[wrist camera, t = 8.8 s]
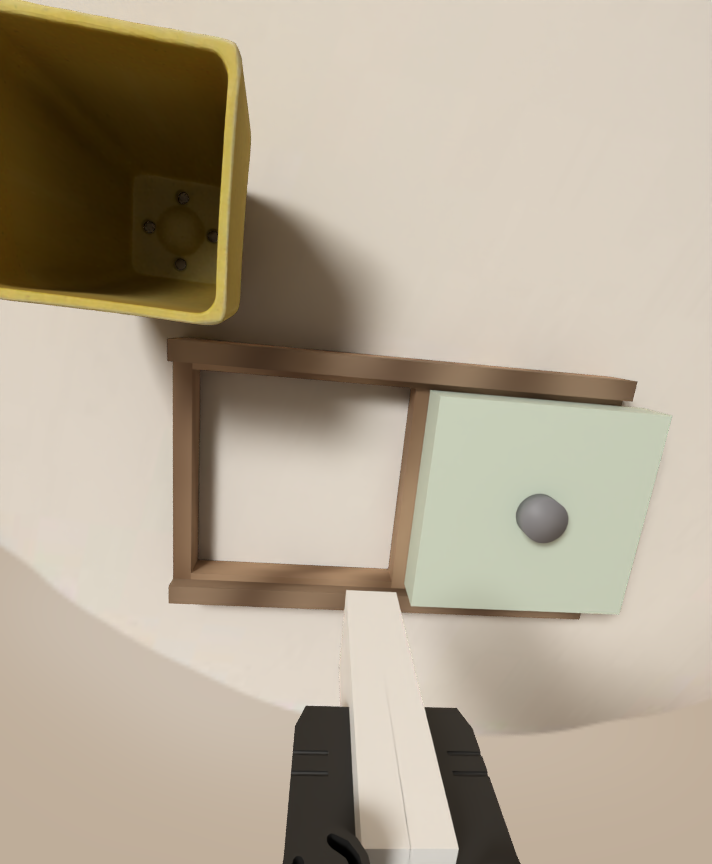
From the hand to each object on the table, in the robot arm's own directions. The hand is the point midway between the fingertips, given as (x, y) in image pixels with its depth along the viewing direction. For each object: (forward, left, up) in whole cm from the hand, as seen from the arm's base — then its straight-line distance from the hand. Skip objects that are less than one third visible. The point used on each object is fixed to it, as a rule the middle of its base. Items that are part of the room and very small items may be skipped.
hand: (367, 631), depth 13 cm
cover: (-10, 0, -12) cm, 16 cm away
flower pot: (+10, -13, -14) cm, 21 cm away
